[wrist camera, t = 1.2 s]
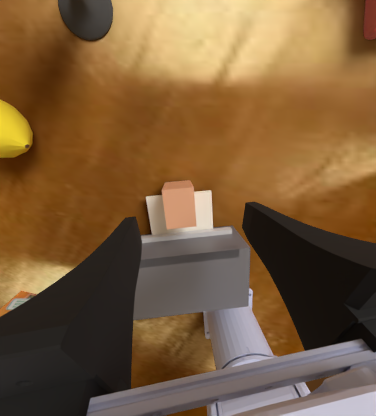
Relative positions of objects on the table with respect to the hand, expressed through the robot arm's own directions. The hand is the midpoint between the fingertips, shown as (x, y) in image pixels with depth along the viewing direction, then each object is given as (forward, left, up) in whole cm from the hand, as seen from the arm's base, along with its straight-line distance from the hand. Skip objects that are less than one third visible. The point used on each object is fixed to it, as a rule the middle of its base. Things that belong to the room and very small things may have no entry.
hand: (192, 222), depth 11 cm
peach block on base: (-5, +1, -10) cm, 12 cm away
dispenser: (-10, +1, -11) cm, 15 cm away
